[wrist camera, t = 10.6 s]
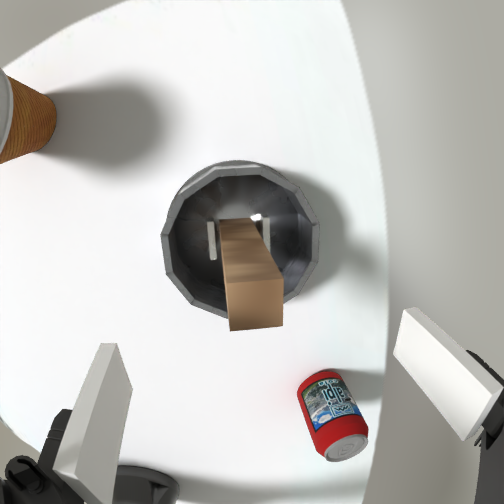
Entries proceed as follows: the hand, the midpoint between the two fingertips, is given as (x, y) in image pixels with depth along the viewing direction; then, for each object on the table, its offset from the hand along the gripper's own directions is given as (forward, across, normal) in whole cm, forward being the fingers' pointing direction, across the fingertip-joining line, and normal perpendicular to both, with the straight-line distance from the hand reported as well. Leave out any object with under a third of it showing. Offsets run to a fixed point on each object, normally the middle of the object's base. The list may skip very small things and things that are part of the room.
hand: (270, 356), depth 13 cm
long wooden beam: (+18, 0, 0) cm, 18 cm away
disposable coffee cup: (+19, -21, +14) cm, 32 cm away
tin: (+19, 0, 0) cm, 19 cm away
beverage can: (+19, +10, -22) cm, 31 cm away
